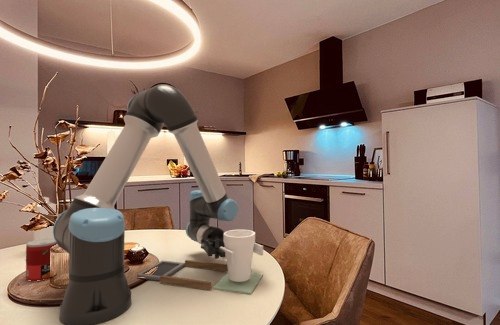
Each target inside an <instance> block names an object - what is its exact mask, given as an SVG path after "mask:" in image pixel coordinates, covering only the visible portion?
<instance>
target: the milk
mask: <svg viewBox="0 0 500 325" xmlns="http://www.w3.org/2000/svg"><path fill="white" fill-rule="evenodd" d="M43 198H44V199H45V201H46V203H47V204H48V205H49V206H50V207H51V208H52V209H53V210H54V211H55V212H56V205H57V203H53V202H51V201H50V197H47V196H43ZM43 198H42V199H43ZM37 204H38V203H37ZM37 210H38V212H40V213H42V214H46V215H48V214H49V213H48V211H47V210H46V209H45V208H44V207H42V206H41V205H39V204H38V205H37ZM34 216H35V214H34V213H33V217H34ZM47 238H54V236H53V226H49V227H47V228H44V229H41V230H37V231H34V230H33V241H34V240H38V239H47Z"/></svg>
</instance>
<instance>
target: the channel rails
mask: <svg viewBox="0 0 500 325" xmlns="http://www.w3.org/2000/svg"><path fill="white" fill-rule="evenodd" d="M184 263H185V267H184V268H194V269H201V270H202V269H203V270H209V271H210V270H211V271H220V272H227V273H228V268H227V263H221V262H220V263H218V262H211V261H210V262H209V261H200V260H193V259H185V260H184ZM159 284H160V285H161V284H162V285H168V286H175V287H183V288H190V289H198V290H204V291H211V290H212V289H213V288H212V286H213V285H212V284H213V283H212V281H210V280H209V281H208V280H201V279H195V278H194V279H193V278H186V277H185V278H184V277H178V276H173V275H172V276H164V275H162V276H160V282H159Z"/></svg>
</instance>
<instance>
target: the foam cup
mask: <svg viewBox="0 0 500 325" xmlns="http://www.w3.org/2000/svg"><path fill="white" fill-rule="evenodd" d="M255 239H256V231H253V230H251V229H250V230H249V229H232V230H230V229H229V230H227V231H224V234H223V242H224V245H225V247H224V248H226V249H228V250H230V251H232V252H234V262H232V263H231V262H229V261H227V260H226V264H227V268H228V272H227V273H228V276H229V279H230V280H232V281H236V282H242V281H246V280H248V279H250V273H252V266H253V265H252V263H253V257H254V256H253V255H254V252H253V249H254V243H255Z"/></svg>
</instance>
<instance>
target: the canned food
mask: <svg viewBox="0 0 500 325" xmlns="http://www.w3.org/2000/svg"><path fill="white" fill-rule="evenodd" d="M56 244H57V243H56V241H55V239H54V238H47V239H38V240H34V239H33V240H31V241H28V242H27V243H26V244H25V245H26V246H25V247H26V248H25V278H26V280H27V281H28V280H31V281H37V280H43V279H47V280H49V279H48V278H50V248H51V247H52V246H54V245H56ZM50 279H51V278H50ZM31 281H30V282H31ZM43 281H44V280H43ZM37 282H38V281H37Z"/></svg>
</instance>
